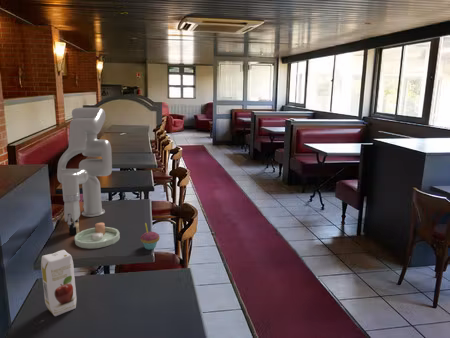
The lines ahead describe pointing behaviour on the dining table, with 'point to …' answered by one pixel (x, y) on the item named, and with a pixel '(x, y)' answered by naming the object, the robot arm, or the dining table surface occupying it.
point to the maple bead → (77, 227)
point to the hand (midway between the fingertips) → (74, 232)
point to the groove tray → (97, 238)
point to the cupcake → (149, 239)
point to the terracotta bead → (100, 228)
